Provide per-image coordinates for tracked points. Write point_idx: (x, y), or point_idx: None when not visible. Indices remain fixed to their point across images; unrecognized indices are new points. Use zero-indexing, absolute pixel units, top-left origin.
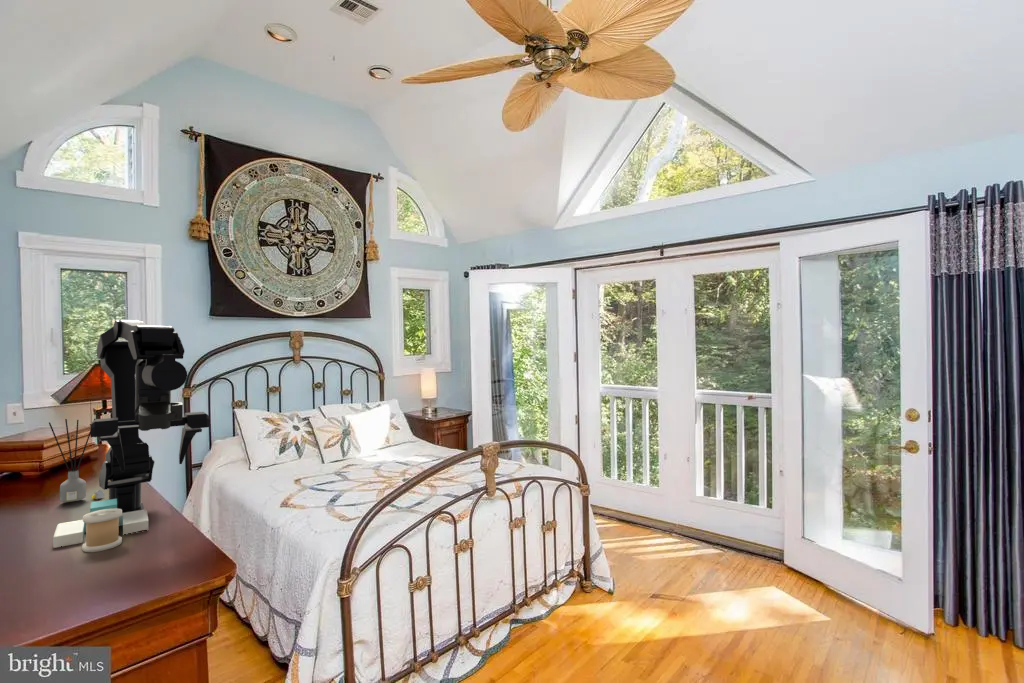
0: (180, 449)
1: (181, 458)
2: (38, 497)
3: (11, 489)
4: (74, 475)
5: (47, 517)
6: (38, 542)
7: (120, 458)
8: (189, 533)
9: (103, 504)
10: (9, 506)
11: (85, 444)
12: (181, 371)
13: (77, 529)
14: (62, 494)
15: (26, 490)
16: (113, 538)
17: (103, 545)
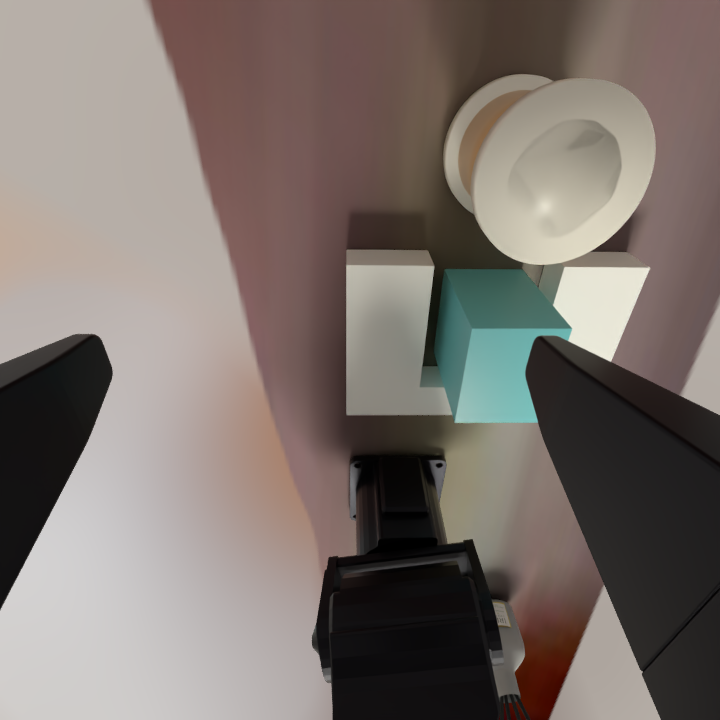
0: (14, 467)
1: (46, 355)
2: (529, 652)
3: (552, 701)
4: (504, 680)
5: (552, 534)
6: (633, 345)
7: (644, 392)
8: (186, 68)
9: (514, 363)
10: (584, 628)
11: None
12: None
13: (567, 312)
14: (515, 624)
15: (535, 690)
16: (487, 107)
17: (522, 83)
